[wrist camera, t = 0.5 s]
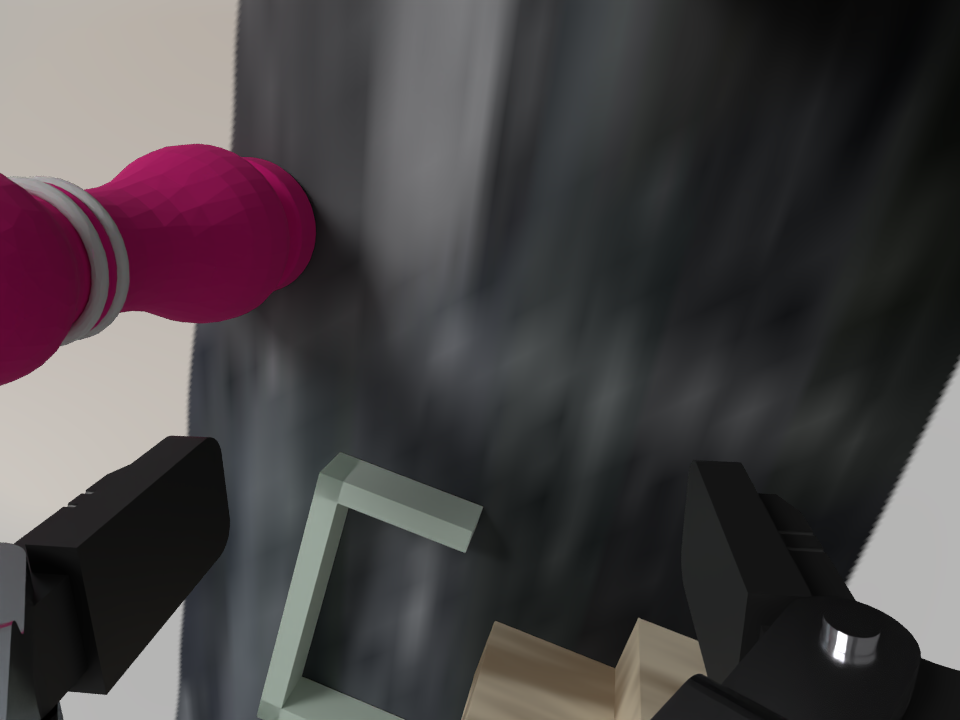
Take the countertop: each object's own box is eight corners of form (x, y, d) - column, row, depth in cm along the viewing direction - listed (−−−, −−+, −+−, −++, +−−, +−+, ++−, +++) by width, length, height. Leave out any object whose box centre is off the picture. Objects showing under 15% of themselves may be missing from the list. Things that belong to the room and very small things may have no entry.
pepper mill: (160, 234, 35) (-406, 322, 16) (235, 112, 32) (-325, 41, 13) (273, 331, 35) (-151, 534, 16) (357, 216, 32) (-25, 294, 13)
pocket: (340, 451, 36) (319, 472, 33) (483, 506, 35) (472, 531, 33) (278, 684, 41) (256, 716, 38) (402, 737, 40) (388, 773, 37)
